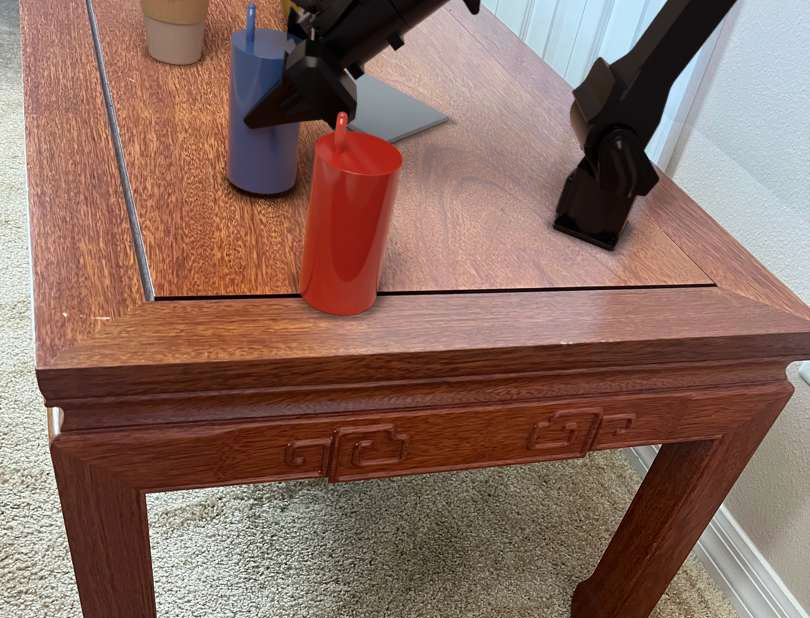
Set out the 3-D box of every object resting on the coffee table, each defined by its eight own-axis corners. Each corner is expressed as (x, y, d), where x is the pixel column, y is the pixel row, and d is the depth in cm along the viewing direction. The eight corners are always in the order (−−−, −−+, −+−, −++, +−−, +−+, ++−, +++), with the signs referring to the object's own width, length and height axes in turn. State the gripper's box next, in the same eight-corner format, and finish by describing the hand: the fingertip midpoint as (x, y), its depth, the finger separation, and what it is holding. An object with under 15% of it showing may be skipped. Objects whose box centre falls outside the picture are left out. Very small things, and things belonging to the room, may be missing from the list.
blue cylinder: (296, 163, 80) (312, -1, 69) (294, 197, 75) (310, 26, 65) (229, 155, 79) (235, -13, 68) (223, 189, 74) (227, 14, 64)
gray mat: (447, 120, 95) (448, 115, 95) (382, 146, 87) (382, 141, 87) (358, 74, 101) (358, 69, 100) (288, 94, 93) (289, 89, 92)
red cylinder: (366, 268, 70) (398, 96, 60) (384, 314, 66) (420, 137, 56) (292, 267, 68) (312, 90, 58) (305, 316, 64) (328, 133, 54)
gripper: (331, -122, 69) (196, -6, 74) (330, -58, 55) (165, 78, 61) (407, -9, 75) (278, 89, 81) (423, 73, 62) (266, 185, 67)
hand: (249, 107), depth 72 cm, fingers closed on blue cylinder, 6 cm apart
